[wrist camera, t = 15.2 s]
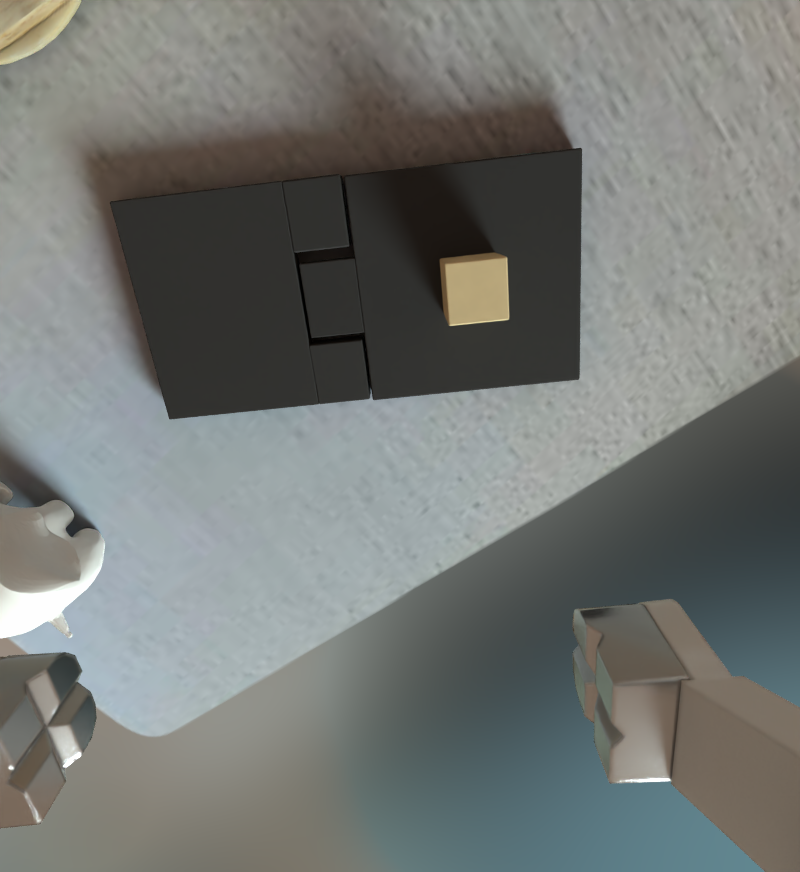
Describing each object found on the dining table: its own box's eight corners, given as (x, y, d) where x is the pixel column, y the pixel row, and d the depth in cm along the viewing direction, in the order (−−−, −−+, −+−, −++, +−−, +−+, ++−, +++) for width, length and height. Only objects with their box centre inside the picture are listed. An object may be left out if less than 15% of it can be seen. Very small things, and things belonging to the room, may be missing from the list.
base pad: (341, 175, 29) (339, 173, 28) (370, 393, 34) (369, 399, 32) (120, 202, 30) (109, 201, 29) (176, 413, 34) (169, 419, 33)
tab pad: (575, 150, 29) (606, 137, 24) (574, 374, 33) (600, 398, 29) (289, 184, 29) (270, 177, 25) (324, 399, 34) (313, 426, 29)
